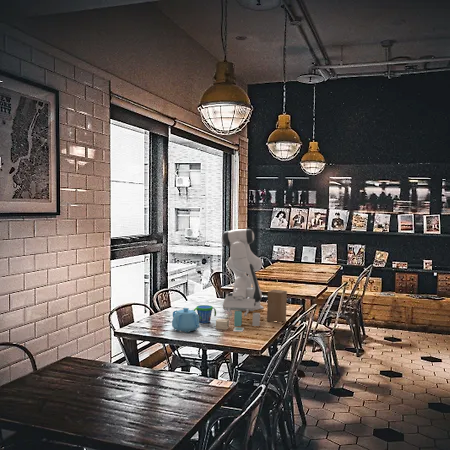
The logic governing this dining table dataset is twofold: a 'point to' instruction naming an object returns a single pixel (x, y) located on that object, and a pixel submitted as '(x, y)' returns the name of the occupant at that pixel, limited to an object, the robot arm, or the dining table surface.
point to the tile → (238, 329)
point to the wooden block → (276, 305)
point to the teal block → (238, 318)
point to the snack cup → (205, 313)
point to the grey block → (256, 319)
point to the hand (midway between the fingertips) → (237, 315)
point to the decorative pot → (185, 320)
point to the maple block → (222, 324)
